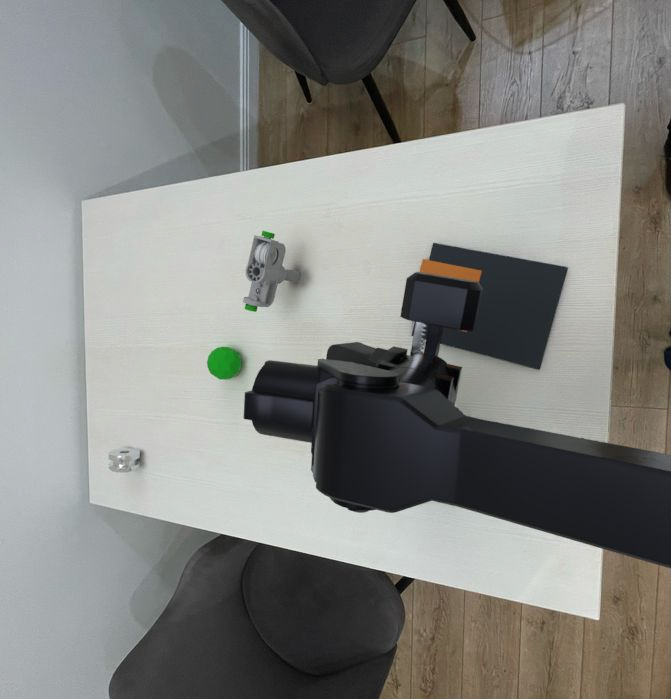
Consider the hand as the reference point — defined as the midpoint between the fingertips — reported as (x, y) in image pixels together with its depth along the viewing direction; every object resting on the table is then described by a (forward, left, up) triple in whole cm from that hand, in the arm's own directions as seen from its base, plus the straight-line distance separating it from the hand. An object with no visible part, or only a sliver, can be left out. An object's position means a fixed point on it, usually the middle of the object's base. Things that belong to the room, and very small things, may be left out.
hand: (444, 365), depth 55 cm
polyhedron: (+35, +10, -13) cm, 39 cm away
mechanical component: (+27, -5, -13) cm, 31 cm away
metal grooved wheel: (+52, +32, -13) cm, 63 cm away
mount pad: (0, -7, -13) cm, 15 cm away
